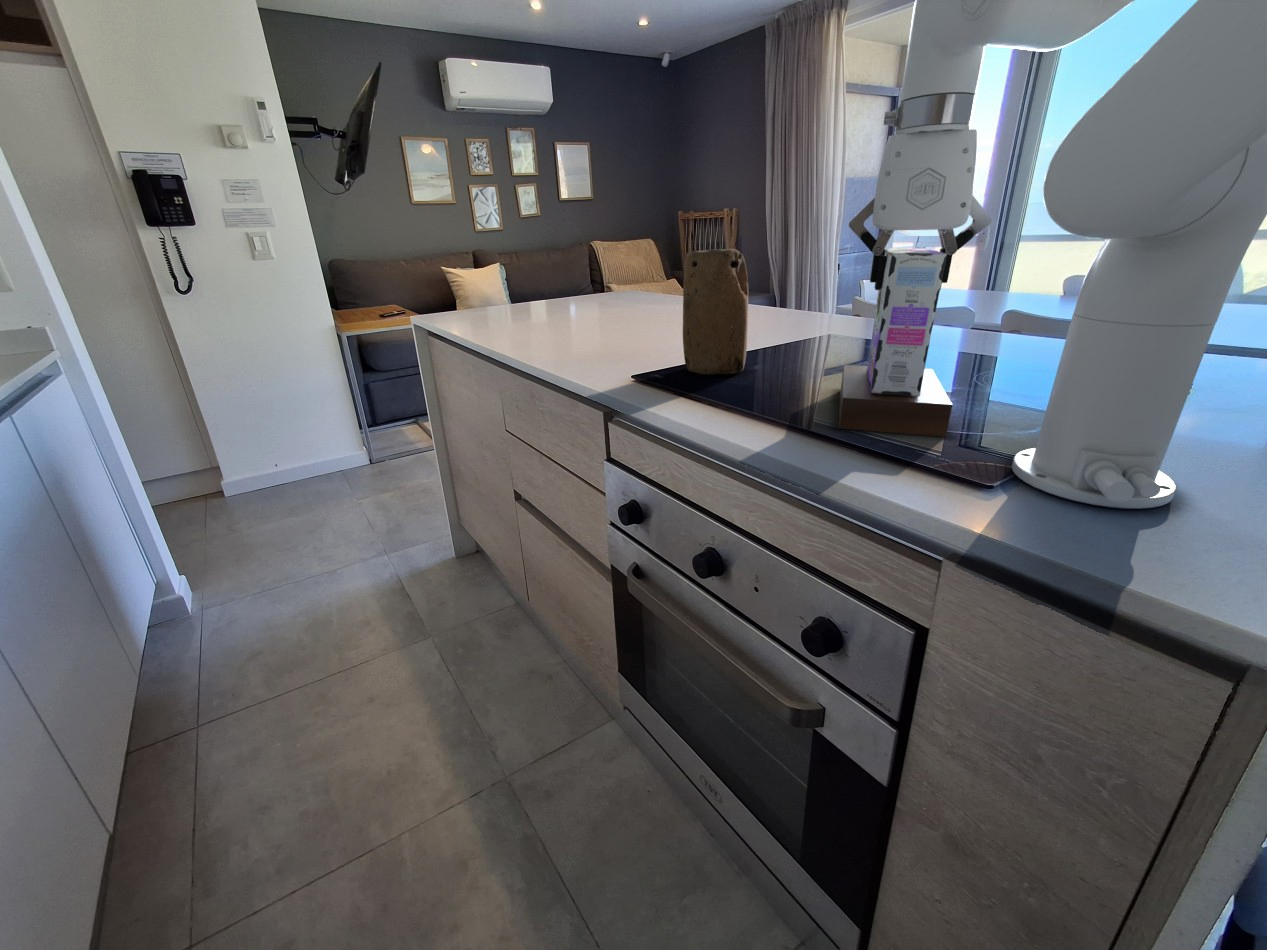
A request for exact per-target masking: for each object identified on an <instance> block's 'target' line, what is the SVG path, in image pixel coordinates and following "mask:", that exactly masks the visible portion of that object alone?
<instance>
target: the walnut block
mask: <svg viewBox="0 0 1267 950" xmlns="http://www.w3.org/2000/svg"><path fill="white" fill-rule="evenodd" d="M867 368H868V365H856V364H855V365H854V364H843V367H842V375H841V382H840V390H839V391H840V393H839V394H840V395H839V425H838V429H841V430H852V431H853V430H854V431H865V432H866V431H867V432H879V433H890V434H891V433H892V434H903V435H914V436H915V435H916V436H929V437H939V438H946V437H947V433H948V427H949V424H950V419H951V413H952V410H953V403H952V402H951V400H950V398H949V396H948V395H947V393H946V391H945V389H944V387H943V386H942V384H941V382H940V380H939V378H938V377H937V375H936V373H935V372H934V369H932V368H925V370H924V374H923V381H922V386H921V391H920V396H918V397H915V396H903V395H890V394H878V393H871V390H870V384H869V378H868V372H867Z"/></svg>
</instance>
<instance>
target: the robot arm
mask: <svg viewBox="0 0 1267 950" xmlns="http://www.w3.org/2000/svg"><path fill="white" fill-rule="evenodd" d="M1135 1H1136V0H915V1H914V4H913V9H912V15H911V23H910V28H909V29H910V30H909V37H908V43H907V51H906V58H905V65H904V71H903V80H902V87H901V92H900V93H901V94H900V100H899V105H898V106H897V107H896V109H892V111H891V110H890V111H885V112H884V119H883V126H890V127H893V129H895V134H892V135H889V136H888V139H887V142H886V145H885V148H884V151H883V154H882V160H881V163H880V164H881V165H880V168H879V172H878V177H877V183H876V188H875V189H876V190H875V195H874V197H873V199H872V200H870V201H869V202H868V204H866V205H865V206H864V208H862V209H861V210H860V211H859V212H858V213H857V214H856V215H855V216H853V218H852V219H851V220H850V221H849V223H848V228H850V230H851V231H852V232H853V233H854V234H855V235H856V236H857V237H858V238H859V239H860V241H861V242H862V243H863V244H864V245H865V246H866V248H867V249H868V250H869V251H870V252H871V253H872V254H873V256H872V264H871V270H870V271H871V272H870V278H869V283H874V290H875V291H878V290H880V289H882V284H883V278H884V271H885V265H886V258H887V257H886V256H885V250H884V249H886V247H887V244H889V241H890V239H891V238H892V236H893V233H894V232H895V231H933V230H936V231H937V233H938V238H939V241H940V246H941V248H940V249H939V252H942V253H946V254H947V257H946V261H945V266H944V271H943V277H942V282H941V287H940V291H941V290H942V284H947V283H948V280H949V276H950V271H951V265H952V259H953V255H955V254H956V253H957V251H959V250H960V249H961V248H963V247H964V246H965V245H966V244H967V243H969V242H970V241H971V240H972V239H973V238H974V237H975V236H977V235H978V234H979V233H981V232H982V231H983V230H985V229H986V228H987V227H989V226H990V224H991V223H992V217H991V216H990V215H989V213H987V211H986V210H985V208H983V206H982V205H981V204H980V202H979V201H978V200H977V199H976V197H975V196H974V188H975V183H976V174H977V165H978V151H979V130H978V129H971V125H972V120H973V115H974V109H975V103H976V99H977V95H978V88H979V83H980V77H981V72H982V65H983V61H984V56H985V51H986V47H991V48H1006V49H1007V48H1008V49H1009V48H1010V49H1017V50H1025V51H1026V50H1027V51H1032V52H1050V51H1055V50H1059V49H1062V48H1065V47H1067V46H1069V45H1072V44H1073V43H1075V42H1078V41H1080V40H1081V39H1082V38H1084V37H1086V36H1087V35H1089V34H1090V33H1092V32H1093V31H1095V30H1096V29H1098V28H1100V27H1101V26H1102V25H1104V24H1105V23H1106V22H1108V21H1109V20H1111V19H1112V18H1113V17H1114V16H1116V15H1117V14H1118V13H1120V12H1121V11H1123V10H1124V9H1125V8H1127V7H1128V6H1129V5H1131V4H1132V3H1134V2H1135ZM1043 180H1044V181H1043V190H1042V191H1043V192H1042V195H1043V197H1042V198H1043V205H1044V207H1045V210H1046V212H1047V215H1048V217H1049V218H1050V219H1051V220H1052V221H1053V222H1054V223H1055V225H1056V226H1057V227H1059V228H1060V229H1061V230H1063V231H1065V232H1067V233H1070V234H1071V235H1074V236H1077V237H1082V238H1085V239H1086V238H1087V239H1096V240H1098V239H1099V240H1104V242H1103V244H1102V245H1101V246H1100V248H1099V250H1098V252H1097V254H1096V255H1095V257H1094V259H1093V260H1092V263H1091V264H1090V266H1089V269H1088V270H1087V272H1086V275H1085V277H1084V279H1083V282H1082V285H1081V287H1080V290H1079V292H1078V293H1079V294H1078V296H1077V300H1076V303H1075V307H1074V310H1073V314H1072V317H1071V320H1070V323H1069V326H1068V330H1067V334H1066V337H1065V341H1064V345H1063V348H1062V352H1061V356H1060V359H1059V363H1058V366H1057V370H1056V373H1055V378H1054V380H1053V384H1052V388H1051V391H1050V394H1049V398H1048V402H1047V406H1046V408H1045V409H1046V410H1045V412H1044V416H1043V419H1042V423H1041V427H1040V430H1039V434H1038V438H1037V442H1036V445H1035V447H1033V448H1027V449H1025V450H1021V451H1019V452H1018V453H1016V454H1015V455H1014V457H1013V459H1012V464H1011V469H1012V472H1013V474H1014V475H1016V477H1017V478H1019V479H1020V480H1022V481H1023V482H1024V483H1026V484H1027V485H1029V486H1031V487H1033V488H1035V489H1037V490H1040V491H1042V492H1044V493H1047V494H1051V495H1054V496H1056V497H1060V498H1062V499H1066V500H1070V501H1074V502H1078V503H1083V504H1088V505H1092V506H1100V507H1105V508H1115V509H1126V510H1127V509H1129V510H1133V509H1134V510H1138V509H1139V510H1141V509H1142V510H1143V509H1153V508H1158V507H1161V506H1162V507H1163V506H1164V505H1166V504H1168V503H1170V502H1171V501H1172V500H1173V499H1174V497H1175V494H1176V490H1177V485H1176V483H1175V482H1174V481H1173V480H1172V478H1171V477H1170V476H1168V475H1167V474H1165V473H1164V472H1162V471H1160V470H1161V467H1162V465H1163V462H1164V460H1165V457H1166V454H1167V452H1168V449H1169V446H1170V444H1171V441H1172V439H1173V437H1174V434H1175V431H1176V428H1177V426H1178V423H1179V420H1180V418H1181V415H1182V412H1183V410H1184V408H1185V405H1186V402H1187V399H1188V397H1189V394H1190V391H1191V389H1192V386H1193V383H1194V381H1195V379H1196V378H1195V377H1196V376H1197V373H1198V371H1199V367H1200V365H1201V362H1202V360H1203V357H1204V355H1205V352H1206V350H1207V347H1208V344H1209V342H1210V339H1211V336H1212V334H1213V331H1214V329H1215V326H1216V324H1217V323H1218V320H1219V317H1220V314H1221V313H1222V309H1223V307H1224V304H1225V302H1226V299H1227V297H1228V294H1229V291H1230V289H1231V287H1232V284H1233V282H1234V279H1235V277H1236V275H1237V273H1238V271H1239V268H1240V266H1241V264H1242V261H1243V259H1244V257H1245V255H1246V253H1247V251H1248V249H1249V248H1250V246H1251V243H1252V242H1253V240H1254V239H1255V236H1256V235H1257V233H1258V231H1259V229H1260V227H1261V226H1262V224H1263V222H1264V221H1265V219H1266V217H1267V0H1197V1H1195V2H1194V3H1193V4H1192V5H1191V6H1190V8H1189V9H1187V10H1186V11H1185V12H1184V14H1182V15H1181V17H1180V18H1178V19H1177V20H1176V21H1175V22H1174V23H1173V24H1172V25H1171V26H1170V27H1169V28H1168V29H1167V30H1166V31H1165V32H1164V33H1163V34H1162V36H1160V37H1159V38H1158V39H1157V40H1156V41H1155V42H1154V43H1153V44H1152V45H1151V46H1150V47H1149V49H1147V50H1146V51H1145V52H1144V53H1143V54H1142V55H1141V56H1140V57H1139V59H1137V60H1136V61H1135V62H1134V63H1133V64H1132V65H1131V66H1130V67H1129V68H1128V69H1127V70H1126V71H1125V72H1124V73H1123V74H1122V76H1120V77H1119V78H1118V79H1117V80H1116V81H1115V82H1114V83H1113V84H1112V85H1111V86H1110V87H1109V88H1108V89H1107V90H1106V91H1105V92H1104V93H1103V94H1102V95H1101V96H1100V97H1099V98H1098V99H1097V100H1096V101H1095V102H1094V103H1093V104H1092V105H1091V106H1090V108H1088V110H1087V111H1086V112H1085V113H1084V114H1083V115H1082V116H1081V117H1080V118H1079V119H1078V120H1077V122H1076V123H1075V124H1074V125H1073V126H1072V128H1071V129H1070V130H1069V131H1068V133H1067V134H1066V135H1065V136H1064V138H1063V139H1062V141H1061V142H1060V144H1059V145H1058V146H1057V148H1056V150H1055V152H1054V154H1053V156H1052V158H1051V160H1050V162H1049V164H1048V166H1047V170H1046V173H1045V176H1044V179H1043ZM871 216H872V224H873V226H874V227H875V228H877V229H880V231H879V233H878V235H877V238H875V237H874V236H873V234H872V233H871V232H870V231H869V230H868V229H867V228H866V227H865V222H866V221H867V220H868V219H869V218H870V217H871ZM969 216H970V218H971V219H972V222H971V223H970V224H969V225H968V226H967V227H966V228H964V229H963V230H962V231H960V232H959V233H958V234H956V235H955V231H954V229H958V228H960V227H962V226H964V225H966V223H967V222H968V220H969Z"/></svg>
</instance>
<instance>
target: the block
mask: <svg viewBox="0 0 1267 950" xmlns="http://www.w3.org/2000/svg"><path fill="white" fill-rule="evenodd" d="M684 258H685V259H684V269H683V285H682V286H683V287H682V289H683V290H682V293H683V294H682V299H683V300H682V347H683V357H684V364H685V367H686V369H687V371H689V372H691V373H694V374H697V375H702V376H703V375H704V376H705V375H706V376H716V375H734V374H737V373H741V372H742V371H743V370H744V368H745V366H746V358H747V351H748V350H747V349H748V325H749V282H748V281H749V280H748V279H749V277H748V271H747V263H746V261H745V257H744V254H742V253H741V252H740V251H739V250H738V249H735V248H726V249H706V250H693V251H688V252H687V253H686V254H685V257H684Z"/></svg>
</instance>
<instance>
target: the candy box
mask: <svg viewBox="0 0 1267 950" xmlns="http://www.w3.org/2000/svg"><path fill="white" fill-rule="evenodd" d="M884 250H885V256H886V257H887V258H886V265H885V271H884V278H883V284H882V289H880V290H877V298H876V305H875V311H874V320H873V326H872V327H873V328H872V334H871V341H870V349H869V356H868V361H867V366H868V368H867V372H868V378H869V384H870V390H871V393H878V394H890V395H903V396H915V397H918V396H920V391H921V386H922V381H923V374H924V370H925V369H926V363H927V358H928V353H929V349H930V344H931V343H930V341H931V338H932V337H931V336H932V331H933V326H934V321H935V316H936V311H937V307H938V301H939V297H940V292H941V290H940V287H941V288H942V285H941V282H942V277H943V271H944V266H945V261H946V257H947V254H946V253H942V252H940V251H938V250H935V249H932V248H924V247H923V248H922V247H910V248H909V247H896V248H895V247H894V248H885V249H884Z"/></svg>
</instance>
